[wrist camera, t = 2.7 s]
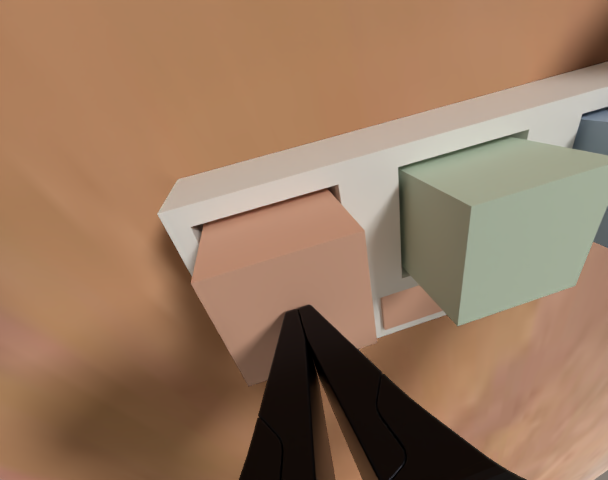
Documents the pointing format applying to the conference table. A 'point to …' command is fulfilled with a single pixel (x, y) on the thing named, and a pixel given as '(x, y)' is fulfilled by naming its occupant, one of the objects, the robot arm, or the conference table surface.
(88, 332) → the conference table surface
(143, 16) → the conference table surface
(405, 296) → the card
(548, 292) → the sage green key
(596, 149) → the slate blue key
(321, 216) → the terracotta key
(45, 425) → the conference table surface
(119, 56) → the conference table surface
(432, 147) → the key console
